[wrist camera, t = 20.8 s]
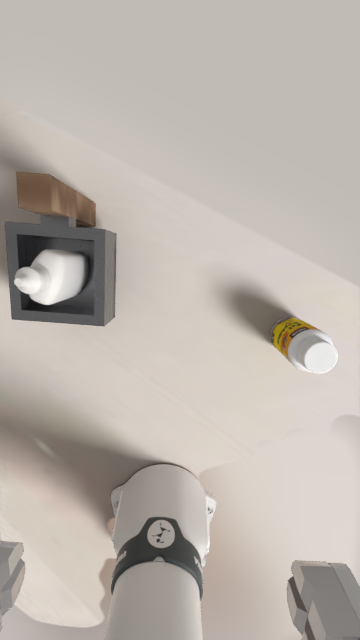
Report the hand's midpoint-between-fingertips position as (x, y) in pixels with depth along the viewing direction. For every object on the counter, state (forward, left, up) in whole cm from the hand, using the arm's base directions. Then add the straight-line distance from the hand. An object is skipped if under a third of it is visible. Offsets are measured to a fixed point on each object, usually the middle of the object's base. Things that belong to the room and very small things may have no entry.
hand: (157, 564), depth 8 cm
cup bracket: (+8, +14, -33) cm, 37 cm away
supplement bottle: (-1, -17, -33) cm, 37 cm away
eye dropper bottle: (+6, +13, -28) cm, 32 cm away
